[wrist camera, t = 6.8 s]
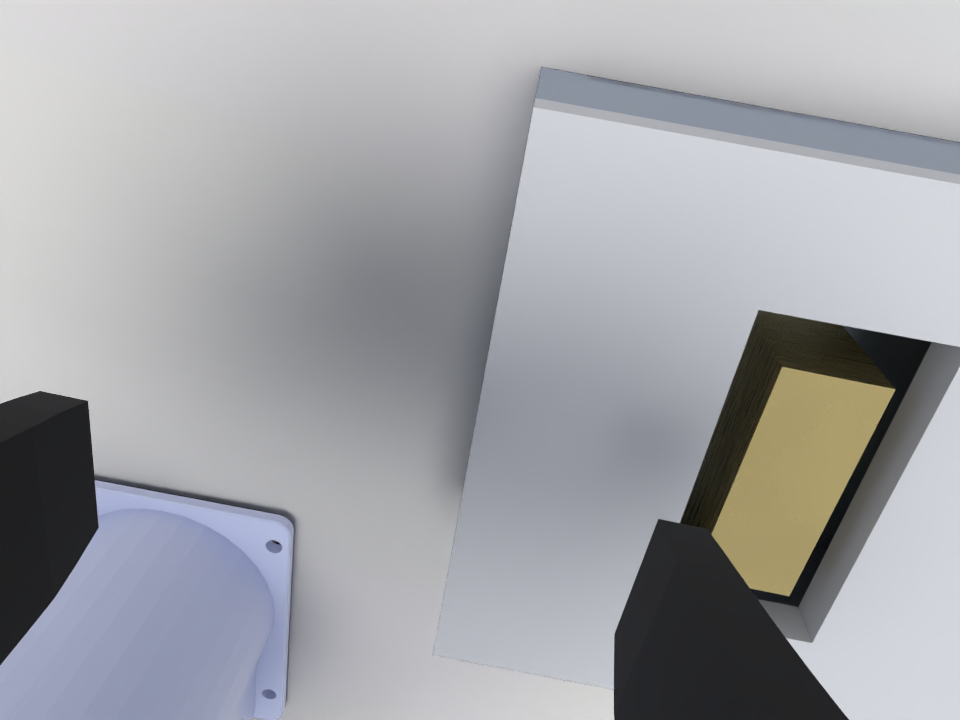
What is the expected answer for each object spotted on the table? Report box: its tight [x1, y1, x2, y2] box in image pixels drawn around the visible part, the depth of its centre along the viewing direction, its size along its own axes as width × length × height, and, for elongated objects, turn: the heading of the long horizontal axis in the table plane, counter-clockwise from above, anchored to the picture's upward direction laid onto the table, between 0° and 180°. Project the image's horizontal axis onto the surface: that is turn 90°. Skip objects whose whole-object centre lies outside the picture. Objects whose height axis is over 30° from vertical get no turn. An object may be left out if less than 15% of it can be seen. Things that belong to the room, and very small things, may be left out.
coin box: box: [433, 67, 960, 720], centre depth 16 cm, size 12×12×6 cm
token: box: [681, 310, 896, 596], centre depth 16 cm, size 5×2×5 cm, turn 170°
